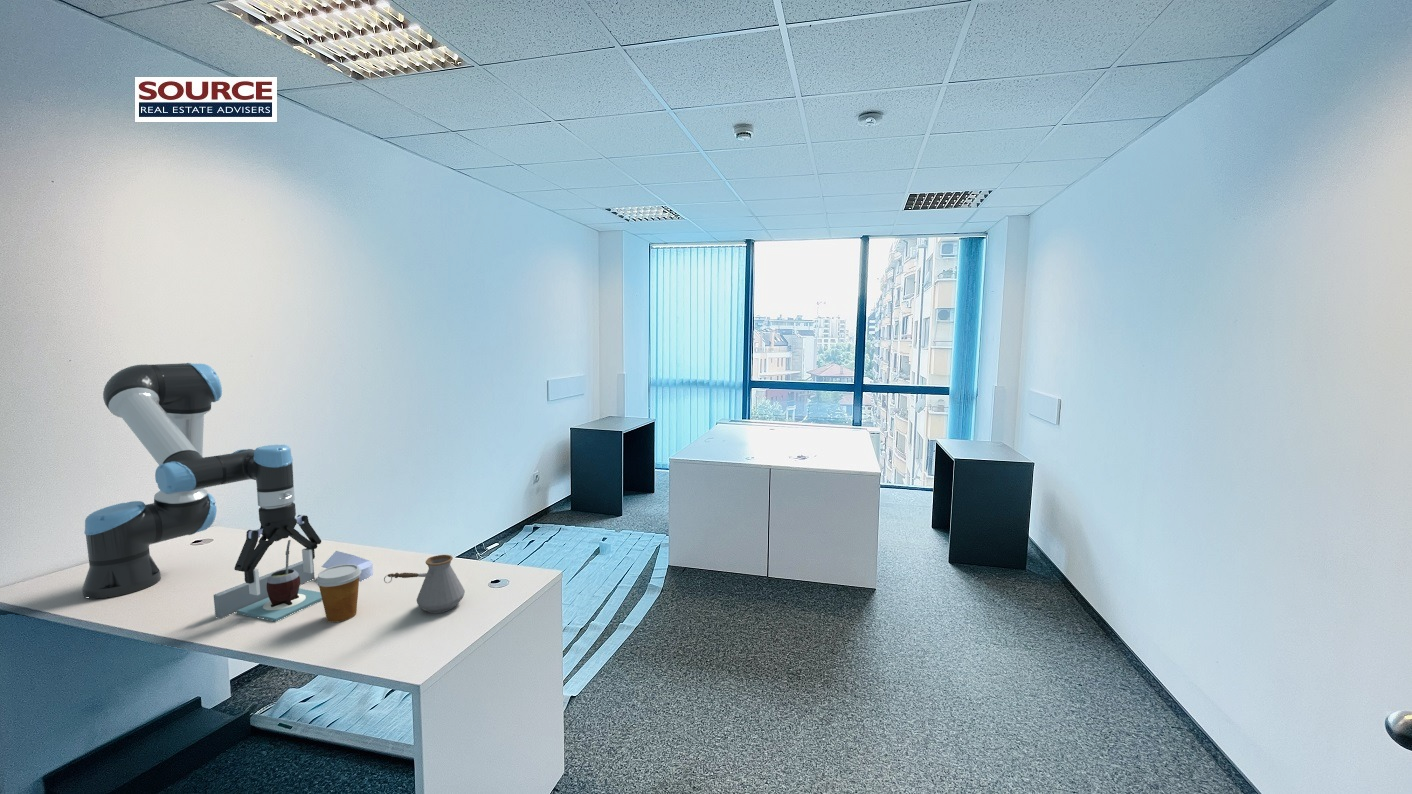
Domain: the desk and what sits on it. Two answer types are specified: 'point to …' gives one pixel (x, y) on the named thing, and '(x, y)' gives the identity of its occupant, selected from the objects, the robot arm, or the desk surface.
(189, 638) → the desk surface
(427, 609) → the coffee pot
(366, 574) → the wedge on round base
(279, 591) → the mate gourd
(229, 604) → the low wall
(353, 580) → the disposable coffee cup
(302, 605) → the mat
